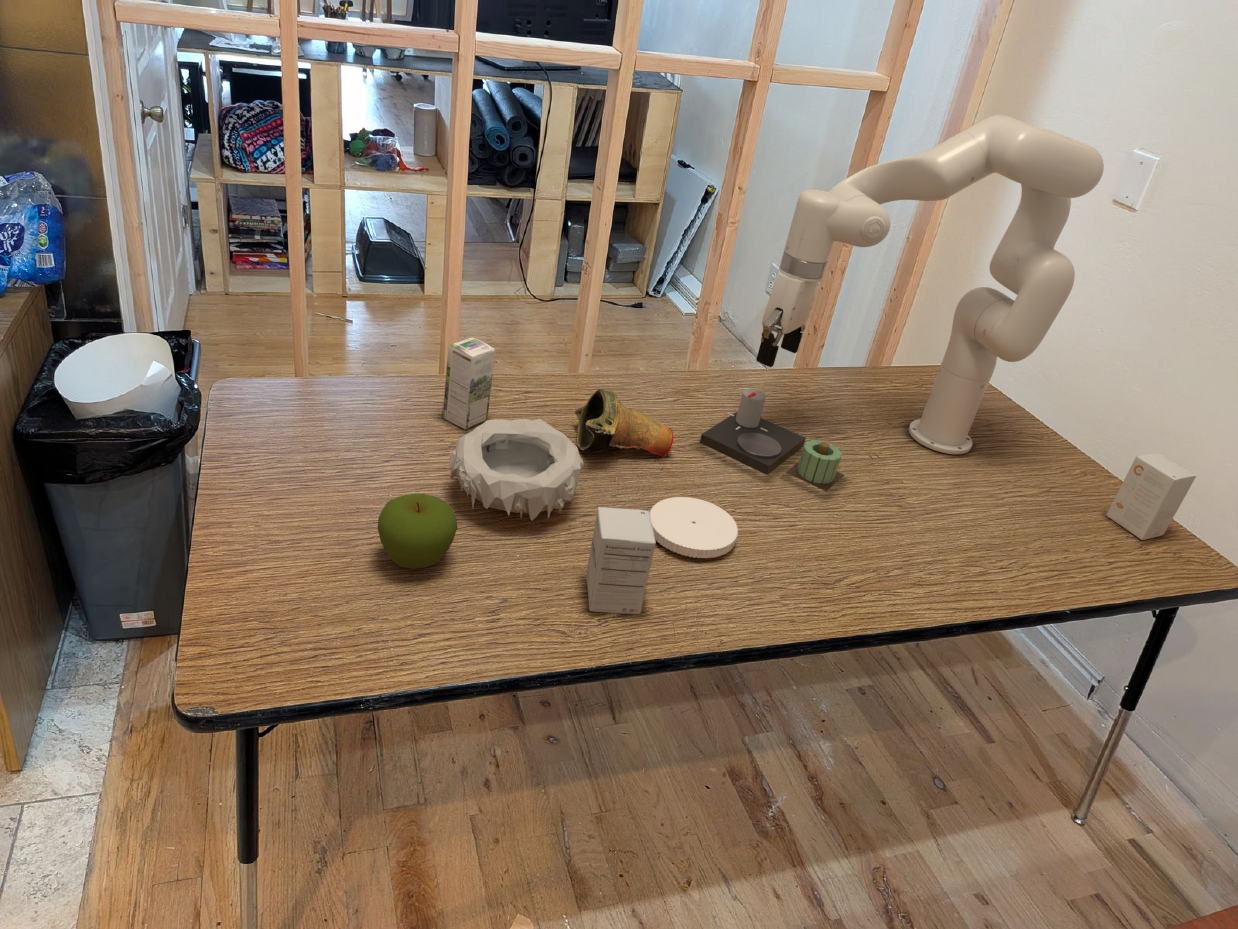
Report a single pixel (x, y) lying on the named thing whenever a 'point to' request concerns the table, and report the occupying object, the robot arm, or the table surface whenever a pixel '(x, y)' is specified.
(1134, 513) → the small box
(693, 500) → the plastic lid
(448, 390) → the syrup box
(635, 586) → the white packaging box
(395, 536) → the apple
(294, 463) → the table surface
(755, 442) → the burner
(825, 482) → the ring
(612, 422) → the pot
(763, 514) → the table surface
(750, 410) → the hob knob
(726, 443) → the hob
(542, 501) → the bowl
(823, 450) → the peg stand
